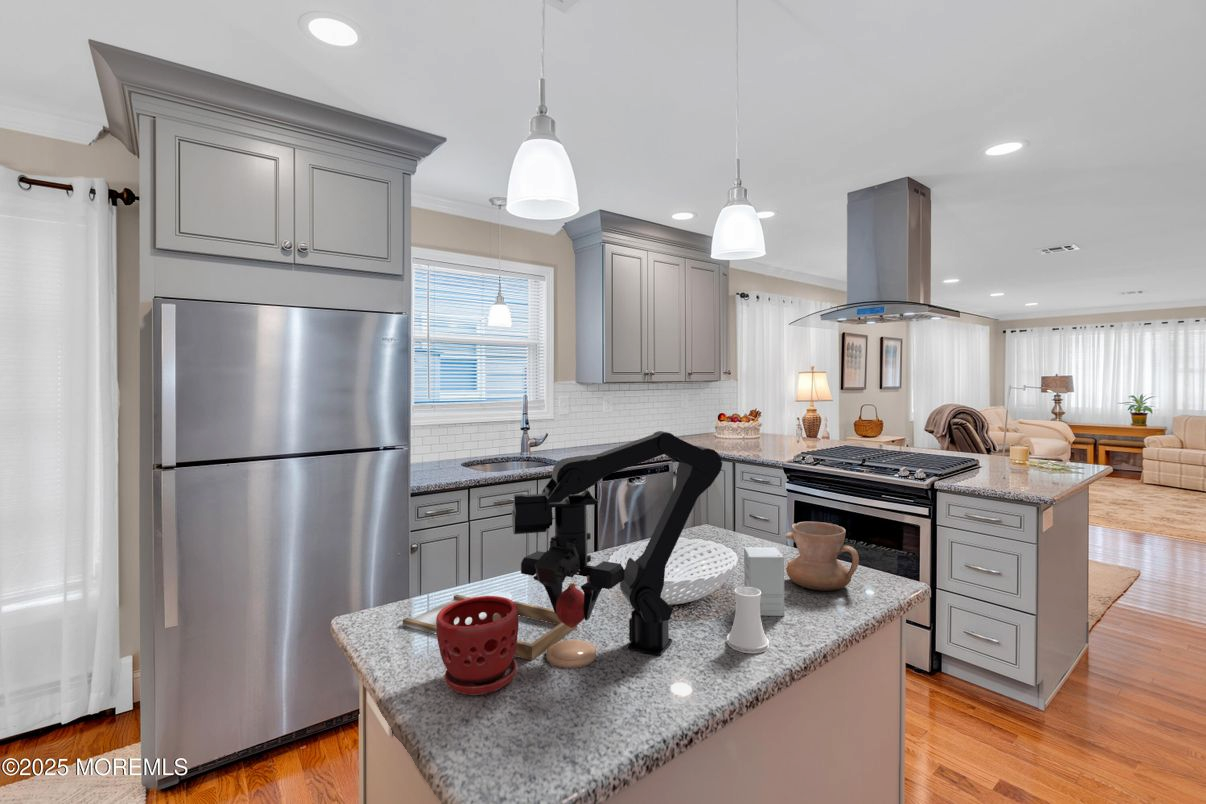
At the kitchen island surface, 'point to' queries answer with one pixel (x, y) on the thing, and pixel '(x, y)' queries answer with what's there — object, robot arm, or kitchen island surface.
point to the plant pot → (478, 644)
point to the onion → (570, 606)
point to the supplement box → (766, 578)
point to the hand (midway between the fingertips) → (572, 616)
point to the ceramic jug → (820, 556)
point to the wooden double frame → (523, 649)
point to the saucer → (571, 653)
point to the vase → (747, 623)
